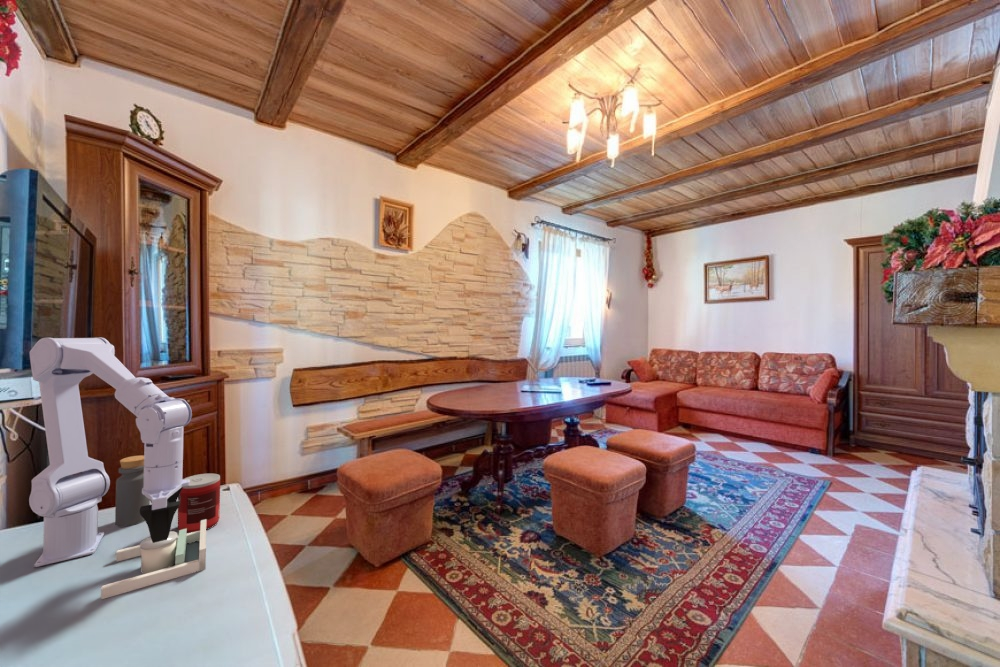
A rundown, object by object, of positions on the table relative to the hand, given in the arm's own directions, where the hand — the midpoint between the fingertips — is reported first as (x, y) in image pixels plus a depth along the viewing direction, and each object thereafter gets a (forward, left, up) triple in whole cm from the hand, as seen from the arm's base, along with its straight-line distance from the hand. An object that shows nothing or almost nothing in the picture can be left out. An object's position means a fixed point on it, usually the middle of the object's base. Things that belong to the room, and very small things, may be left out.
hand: (162, 531), depth 74 cm
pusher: (0, +3, -6) cm, 7 cm away
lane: (0, 0, -6) cm, 6 cm away
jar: (0, 0, -6) cm, 6 cm away
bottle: (-26, -7, -7) cm, 28 cm away
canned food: (-14, +6, -7) cm, 17 cm away
